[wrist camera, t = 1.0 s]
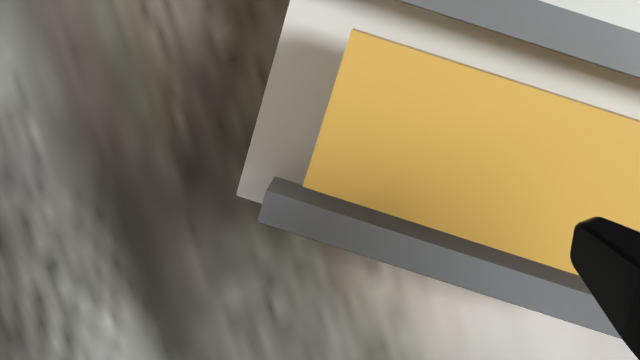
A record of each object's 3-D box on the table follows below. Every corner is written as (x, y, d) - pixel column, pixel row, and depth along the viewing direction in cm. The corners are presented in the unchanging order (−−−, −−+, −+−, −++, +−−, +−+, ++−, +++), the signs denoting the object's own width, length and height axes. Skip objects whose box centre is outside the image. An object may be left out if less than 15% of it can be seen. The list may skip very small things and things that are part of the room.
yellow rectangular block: (799, 171, 15) (844, 188, 13) (721, 303, 16) (755, 332, 14) (353, 27, 15) (351, 29, 13) (308, 170, 16) (302, 186, 14)
